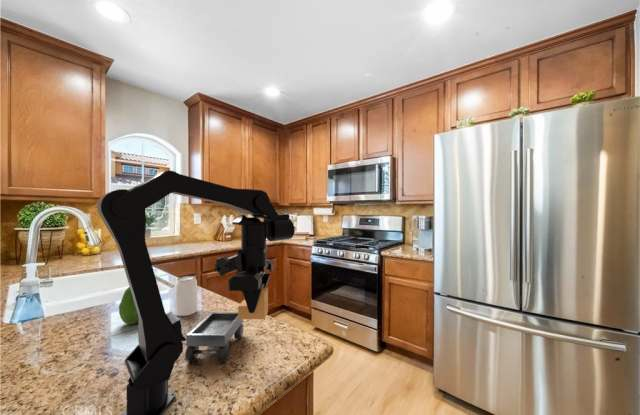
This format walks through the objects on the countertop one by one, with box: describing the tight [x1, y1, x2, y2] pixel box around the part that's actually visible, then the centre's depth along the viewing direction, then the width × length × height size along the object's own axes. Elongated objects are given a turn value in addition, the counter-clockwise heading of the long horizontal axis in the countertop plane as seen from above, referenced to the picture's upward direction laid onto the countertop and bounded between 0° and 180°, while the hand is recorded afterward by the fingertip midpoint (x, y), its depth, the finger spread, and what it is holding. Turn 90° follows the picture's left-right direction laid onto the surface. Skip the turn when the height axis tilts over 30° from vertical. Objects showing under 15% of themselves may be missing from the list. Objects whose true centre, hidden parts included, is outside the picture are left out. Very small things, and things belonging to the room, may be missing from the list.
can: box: [175, 275, 198, 317], centre depth 89 cm, size 6×6×12 cm
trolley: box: [184, 311, 244, 363], centre depth 66 cm, size 14×9×7 cm, turn 179°
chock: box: [237, 287, 269, 320], centre depth 61 cm, size 6×4×6 cm, turn 90°
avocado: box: [118, 286, 139, 325], centre depth 81 cm, size 8×8×12 cm
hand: (254, 308), depth 61 cm, fingers closed on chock, 4 cm apart
